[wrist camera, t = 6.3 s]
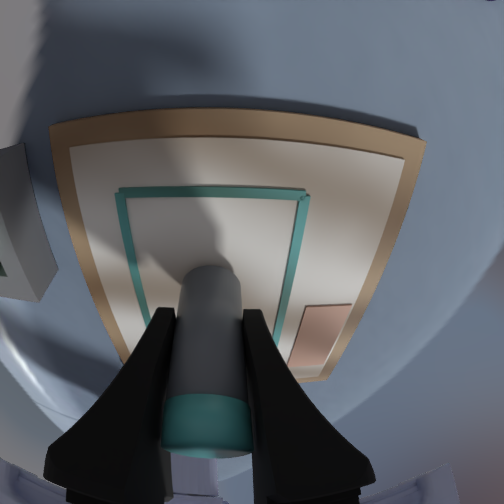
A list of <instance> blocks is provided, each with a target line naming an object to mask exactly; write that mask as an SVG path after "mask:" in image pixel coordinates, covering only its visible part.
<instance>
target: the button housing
mask: <svg viewBox="0 0 504 504" xmlns="http://www.w3.org/2000/svg"><path fill="white" fill-rule="evenodd" d="M57 271H58V267H57V265H56V262H55V259H54V257H53V254H52V251H51V249H50V246H49V243H48V240H47V237H46V234H45V231H44V228H43V224H42V221H41V218H40V214H39V211H38V207H37V204H36V200H35V196H34V192H33V188H32V183H31V179H30V174H29V169H28V164H27V159H26V153H25V146H24V143H21V144H17V145H14V146H10V147H7V148H3V149H0V296H1V297H7V298H12V299H18V300H25V301H31V302H38V303H39V302H40V300H41V299H42V297H43V295H44V293H45V292H46V290H47V288H48V286H49V285H50V283H51V281H52V280H53V278H54V276H55V275H56V273H57Z"/></svg>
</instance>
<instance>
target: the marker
mask: <svg viewBox="0 0 504 504" xmlns="http://www.w3.org/2000/svg"><path fill="white" fill-rule="evenodd" d="M161 447H162V448H163V449H164V450H166V451H169V452H171V453H175V454H179V455H183V456H189V457H196V458H232V457H239V456H244V455H247V454H250V453H252V452H253V451H254V444H253V432H252V419H251V408H250V406H249V402H248V388H247V374H246V360H245V347H244V335H243V314H242V297H241V284H240V281H239V279H238V278H237V277H236V275H235V274H234V273H232V272H231V271H229V270H228V269H225V268H223V267H220V266H213V265H206V266H200V267H197V268H194V269H192V270H191V271H189V272H188V273H187V274H186V275H185V277H184V278H183V281H182V285H181V291H180V297H179V303H178V309H177V316H176V322H175V329H174V336H173V343H172V351H171V359H170V367H169V376H168V385H167V394H166V401H165V403H164V409H163V420H162V433H161Z"/></svg>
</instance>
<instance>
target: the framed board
mask: <svg viewBox="0 0 504 504" xmlns="http://www.w3.org/2000/svg"><path fill="white" fill-rule="evenodd" d="M49 136H50V144H51V151H52V157H53V163H54V169H55V174H56V180H57V184H58V189H59V194H60V198H61V202H62V207H63V211H64V214H65V218H66V222H67V226H68V229H69V233H70V236H71V239H72V243H73V246H74V249H75V252H76V255H77V258H78V261H79V264H80V267H81V270H82V272H83V275H84V278H85V280H86V283H87V286H88V288H89V291H90V293H91V296H92V298H93V301H94V303H95V305H96V308H97V310H98V312H99V315H100V317H101V319H102V321H103V323H104V326H105V328H106V330H107V332H108V334H109V336H110V338H111V340H112V342H113V344H114V346H115V348H116V350H117V352H118V354H119V356H120V358H121V360H122V362H123V363H124V364H125V362H126V361H127V359H128V358H129V356H130V355H131V353H132V352H133V350H134V348H135V347H136V345H137V343H138V342H139V340H140V338H141V337H142V335H143V333H144V331H145V330H146V328H147V326H148V324H149V322H150V320H151V318H152V316H153V315H154V312H155V310H156V309H157V308H158V307H173V308H174V310H175V315H176V316H177V309H178V303H179V297H180V291H181V285H182V281H183V278H184V277H185V275H186V274H187V273H188V272H189V271H191V270H192V269H194V268H197V267H200V266H206V265H213V266H220V267H223V268H225V269H228V270H229V271H231V272H232V273H234V274H235V275H236V277H237V278H238V279H239V281H240V284H241V297H242V314H243V309H260V310H261V311H262V312H263V315H264V318H265V321H266V324H267V326H268V329H269V331H270V333H271V336H272V338H273V340H274V342H275V344H276V346H277V348H278V350H279V352H280V354H281V355H282V357H283V359H284V361H285V363H286V365H287V366H288V368H289V370H290V371H291V373H292V374H293V376H294V378H295V379H296V381H297V382H298V383H303V382H313V381H322V380H327V379H328V377H329V376H330V374H331V372H332V371H333V369H334V367H335V366H336V364H337V362H338V360H339V359H340V357H341V355H342V353H343V352H344V350H345V348H346V346H347V345H348V343H349V341H350V339H351V337H352V335H353V333H354V332H355V330H356V328H357V326H358V324H359V322H360V320H361V318H362V316H363V314H364V312H365V310H366V308H367V306H368V304H369V302H370V300H371V298H372V296H373V293H374V291H375V289H376V287H377V285H378V282H379V280H380V278H381V276H382V273H383V271H384V269H385V266H386V264H387V262H388V259H389V257H390V254H391V252H392V249H393V247H394V244H395V242H396V239H397V237H398V234H399V231H400V229H401V226H402V223H403V220H404V217H405V215H406V212H407V209H408V206H409V203H410V200H411V197H412V193H413V190H414V187H415V184H416V180H417V177H418V173H419V170H420V166H421V163H422V159H423V155H424V151H425V147H426V143H427V142H426V141H424V140H422V139H420V138H417V137H414V136H410V135H407V134H403V133H399V132H396V131H392V130H388V129H384V128H380V127H375V126H371V125H367V124H362V123H357V122H352V121H347V120H342V119H336V118H330V117H324V116H317V115H310V114H303V113H295V112H286V111H276V110H264V109H248V108H223V107H190V108H164V109H150V110H138V111H128V112H120V113H112V114H105V115H98V116H92V117H86V118H80V119H75V120H70V121H65V122H60V123H56V124H53V125H51V126H49Z"/></svg>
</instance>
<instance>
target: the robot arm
mask: <svg viewBox="0 0 504 504" xmlns="http://www.w3.org/2000/svg"><path fill="white" fill-rule="evenodd" d="M175 322H176V315H175V310H174V308H173V307H158V308H157V309H156V310H155V312H154V315H153V316H152V318H151V320H150V322H149V324H148V326H147V328H146V330H145V331H144V333H143V335H142V337H141V338H140V340H139V342H138V343H137V345H136V347H135V348H134V350H133V352H132V353H131V355H130V356H129V358H128V359H127V361H126V362H125V364H124V365H123V367H122V368H121V370H120V371H119V373H118V374H117V376H116V377H115V378H114V380H113V381H112V382H111V384H110V385H109V386H108V388H107V389H106V390H105V391H104V393H103V394H102V395H101V396H100V397H99V399H98V400H97V401H96V402H95V403H94V405H93V406H92V407H91V408H90V409H89V410H88V411H87V412H86V413H85V414H84V415H83V416H82V417H81V418H80V419H79V420H78V421H77V422H76V423H75V424H74V425H73V426H72V427H71V428H70V429H69V430H68V431H67V432H65V433H64V434H63V435H62V436H61V437H59V438H58V439H57V440H56V441H55V442H54V443H52V444H51V445H50V446H49V447H48V451H47V454H46V458H45V466H44V473H43V477H44V478H45V479H46V480H48V481H50V482H52V483H54V484H57V485H59V486H62V487H64V488H67V489H64V488H61V487H59V486H56V485H54V484H51V483H49V482H47V481H45V480H43V479H40V478H38V476H37V475H35V474H33V473H30V472H28V471H26V470H25V469H22V468H21V467H18V466H16V465H14V464H11V463H9V462H7V461H5V460H3V459H2V458H0V504H229V503H228V502H227V501H223V498H220V497H216V496H218V477H217V458H196V457H189V456H183V455H179V454H175V453H171V452H169V451H166V450H164V449H163V448H162V447H161V433H162V420H163V409H164V403H165V401H166V394H167V385H168V376H169V367H170V359H171V351H172V343H173V336H174V329H175ZM243 335H244V347H245V360H246V374H247V388H248V402H249V406H250V408H251V419H252V432H253V444H254V451H253V452H252V466H253V486H254V487H253V488H254V504H460V502H459V497H458V493H457V488H456V484H455V480H454V476H453V472H452V469H451V465H450V463H447V464H444V465H442V466H440V467H438V468H436V469H434V470H432V471H429V472H427V473H423V474H421V475H418V476H416V477H414V478H411V479H409V480H407V481H404V482H402V483H400V484H398V486H395V487H393V488H390V489H388V490H385V491H382V492H379V493H377V494H374V495H370V496H367V497H364V498H361V499H359V497H358V495H361V490H360V487H363V486H366V485H369V484H372V483H374V482H375V481H376V479H375V474H374V471H373V468H372V466H371V463H370V461H369V459H368V458H367V457H366V456H365V455H364V454H362V453H361V452H360V451H359V450H357V449H356V448H355V447H354V446H353V445H352V444H351V443H349V442H348V441H347V440H346V439H345V438H344V437H343V436H342V435H341V434H340V433H339V432H338V431H337V430H336V429H335V428H334V427H333V426H332V425H331V424H330V423H329V421H328V420H327V419H326V418H325V417H324V416H323V415H322V414H321V413H320V411H319V410H318V409H317V408H316V407H315V405H314V404H313V403H312V402H311V400H310V399H309V398H308V396H307V395H306V394H305V392H304V391H303V390H302V388H301V387H300V385H299V384H298V382H297V381H296V379H295V378H294V376H293V374H292V373H291V371H290V370H289V368H288V366H287V365H286V363H285V361H284V359H283V357H282V355H281V354H280V352H279V350H278V348H277V346H276V344H275V342H274V340H273V338H272V336H271V333H270V331H269V329H268V326H267V324H266V321H265V318H264V315H263V312H262V311H261V310H260V309H243Z"/></svg>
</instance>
